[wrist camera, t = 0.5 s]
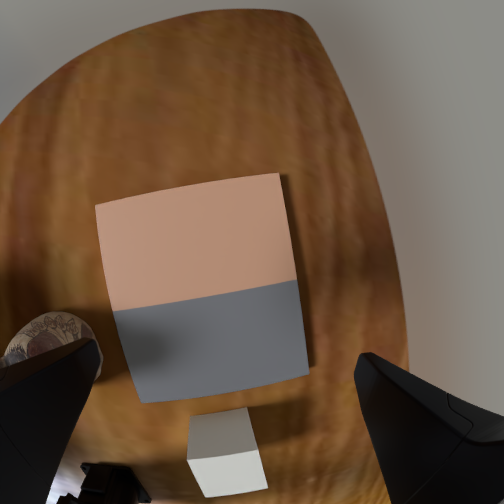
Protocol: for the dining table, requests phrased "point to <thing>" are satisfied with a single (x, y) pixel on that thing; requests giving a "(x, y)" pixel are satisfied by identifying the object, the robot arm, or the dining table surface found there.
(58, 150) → the dining table surface
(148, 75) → the dining table surface
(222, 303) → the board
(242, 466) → the cream block
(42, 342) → the figurine
